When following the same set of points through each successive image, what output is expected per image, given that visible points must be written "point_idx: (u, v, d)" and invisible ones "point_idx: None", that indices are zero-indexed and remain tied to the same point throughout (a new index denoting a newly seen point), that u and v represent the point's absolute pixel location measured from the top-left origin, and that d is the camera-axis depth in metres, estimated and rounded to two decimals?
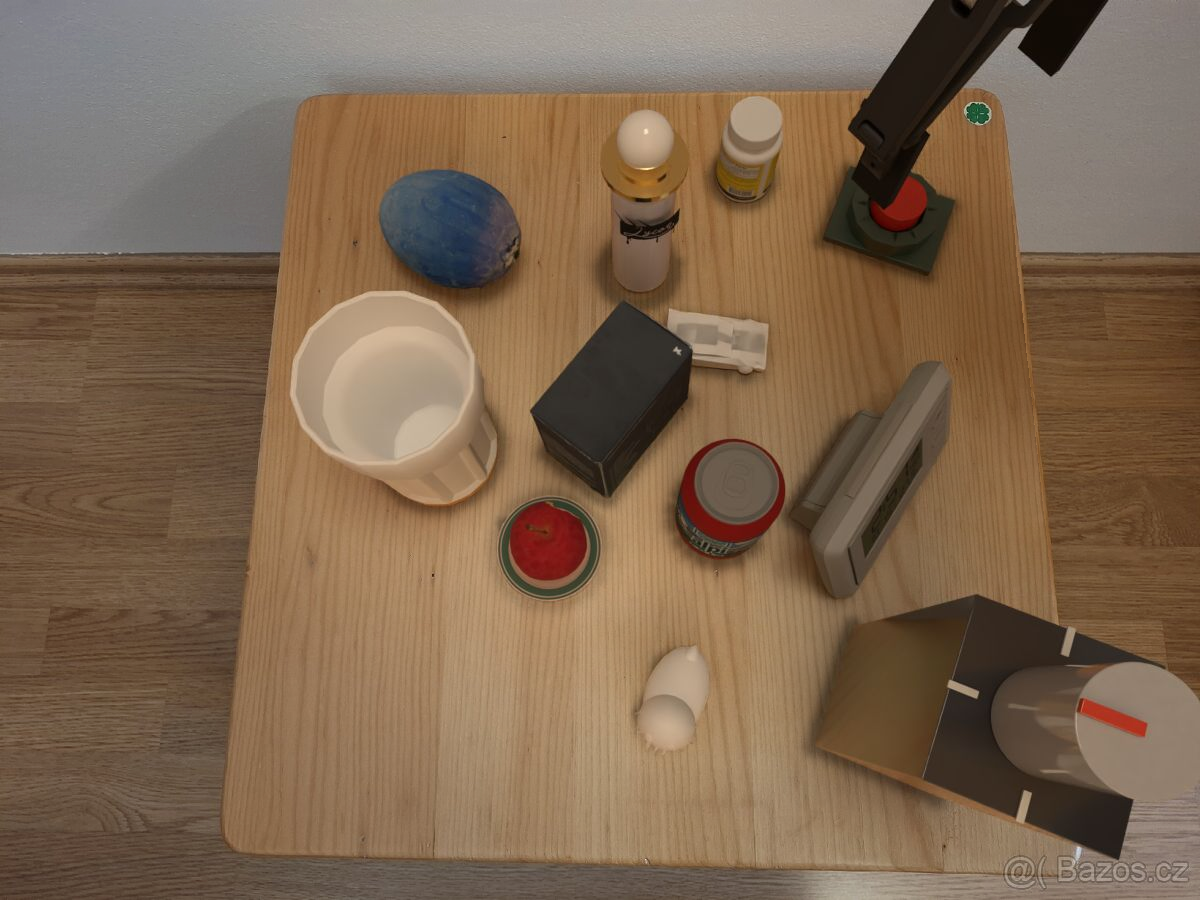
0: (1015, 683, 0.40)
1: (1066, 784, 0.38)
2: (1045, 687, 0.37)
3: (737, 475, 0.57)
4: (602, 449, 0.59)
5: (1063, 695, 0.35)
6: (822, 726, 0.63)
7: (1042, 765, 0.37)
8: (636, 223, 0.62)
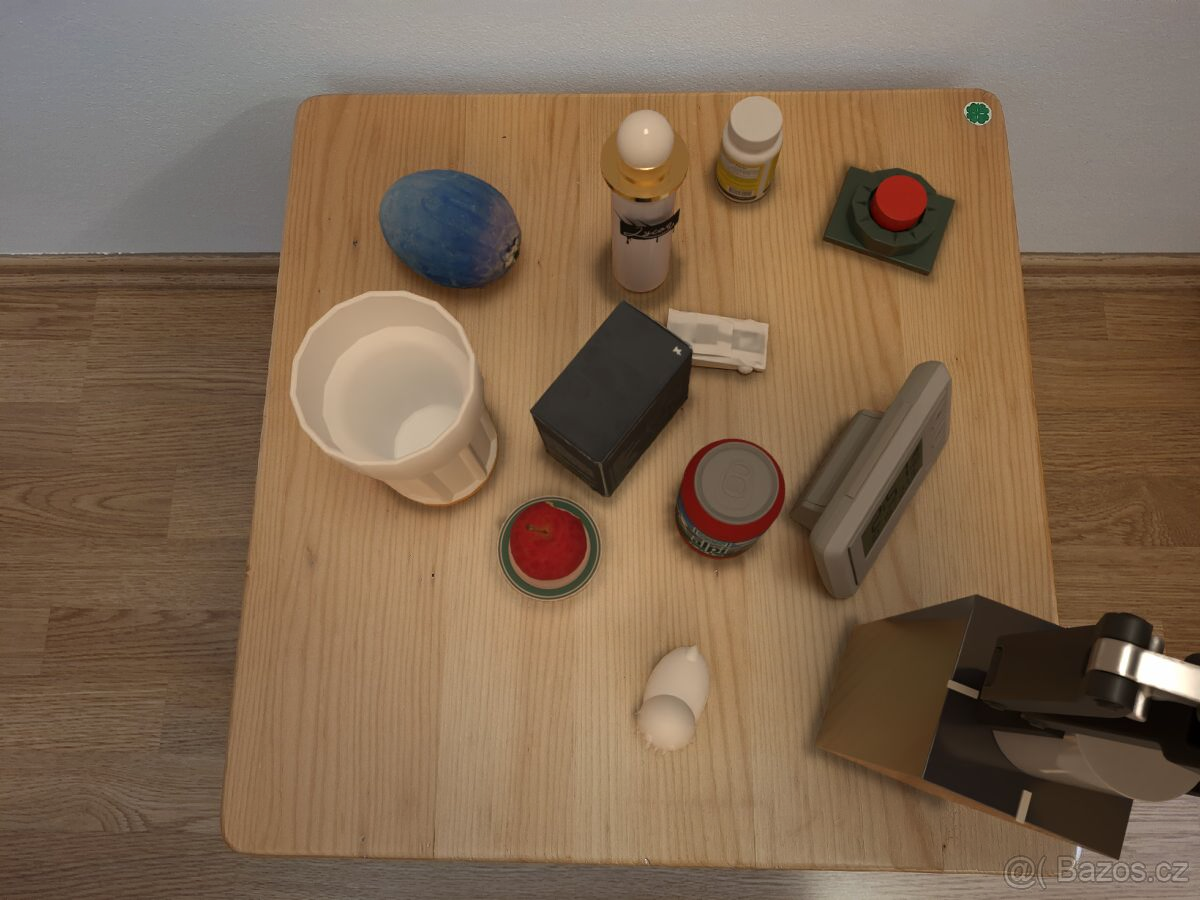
0: None
1: (1066, 784, 0.38)
2: None
3: (737, 475, 0.57)
4: (602, 449, 0.59)
5: None
6: (822, 726, 0.63)
7: (1042, 765, 0.37)
8: (636, 223, 0.62)
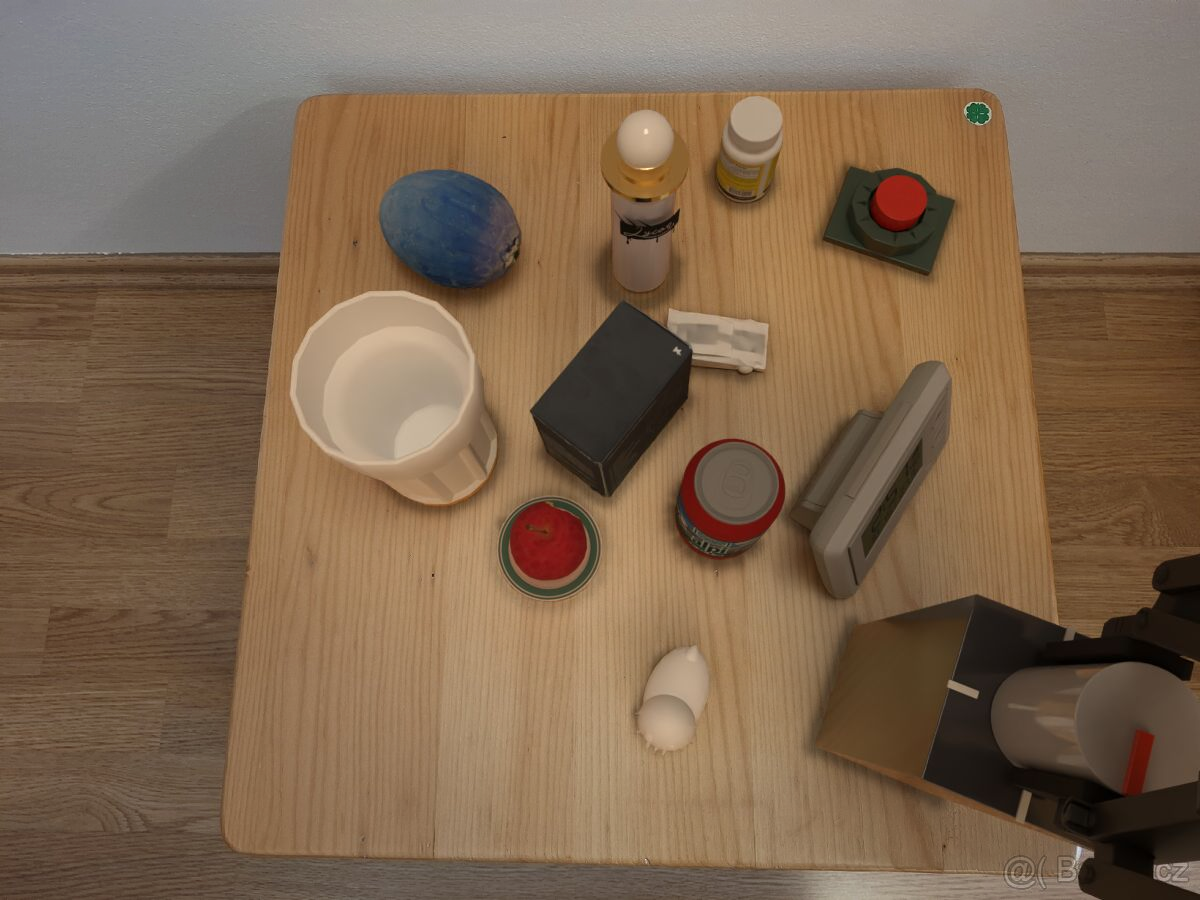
0: (1028, 767, 0.39)
1: None
2: None
3: (737, 475, 0.57)
4: (602, 449, 0.59)
5: None
6: (822, 726, 0.63)
7: None
8: (636, 223, 0.62)
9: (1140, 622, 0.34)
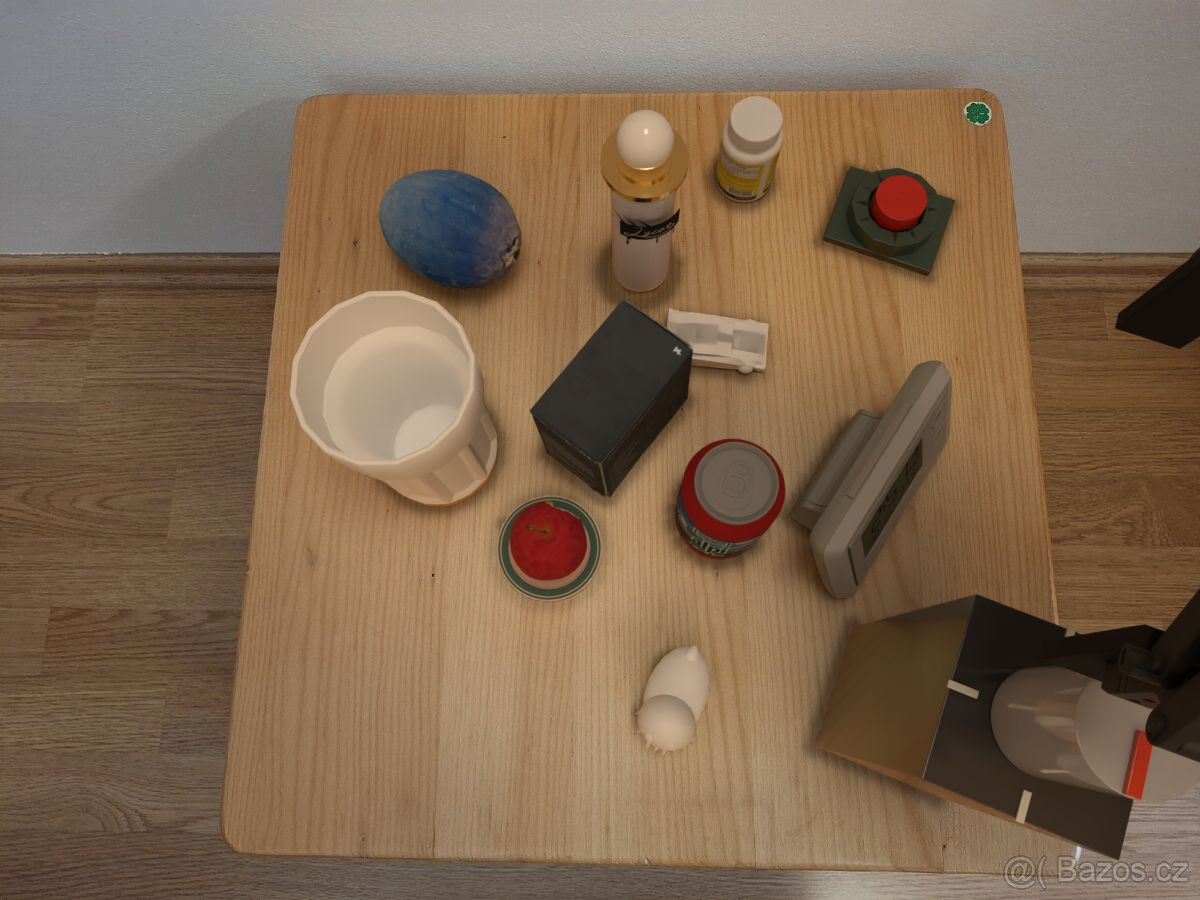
0: (1028, 768, 0.39)
1: None
2: (1068, 778, 0.36)
3: (737, 475, 0.57)
4: (602, 449, 0.59)
5: (1101, 789, 0.34)
6: (822, 726, 0.63)
7: None
8: (636, 223, 0.62)
9: None
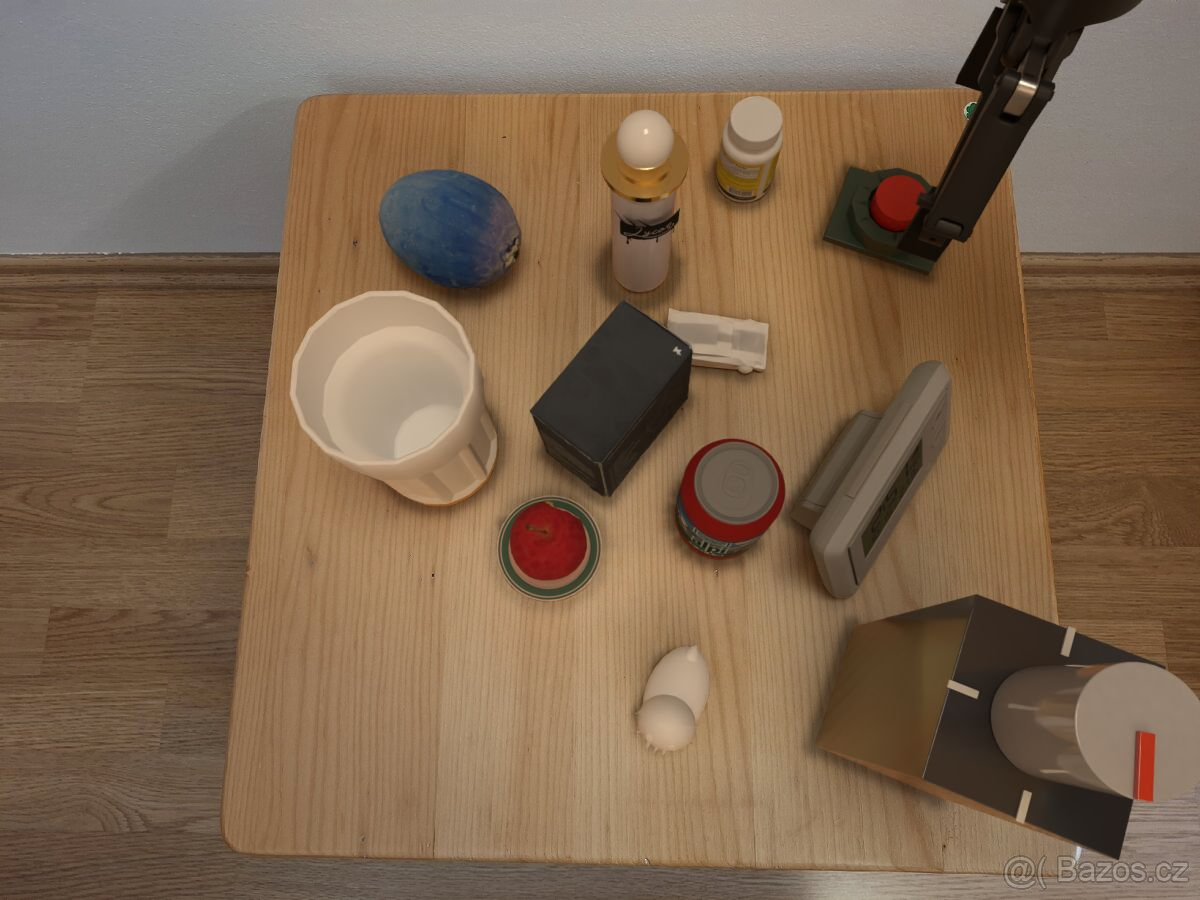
0: (1037, 774, 0.39)
1: None
2: (1077, 784, 0.36)
3: (737, 475, 0.57)
4: (602, 449, 0.59)
5: (1112, 794, 0.34)
6: (822, 726, 0.63)
7: None
8: (636, 223, 0.62)
9: None
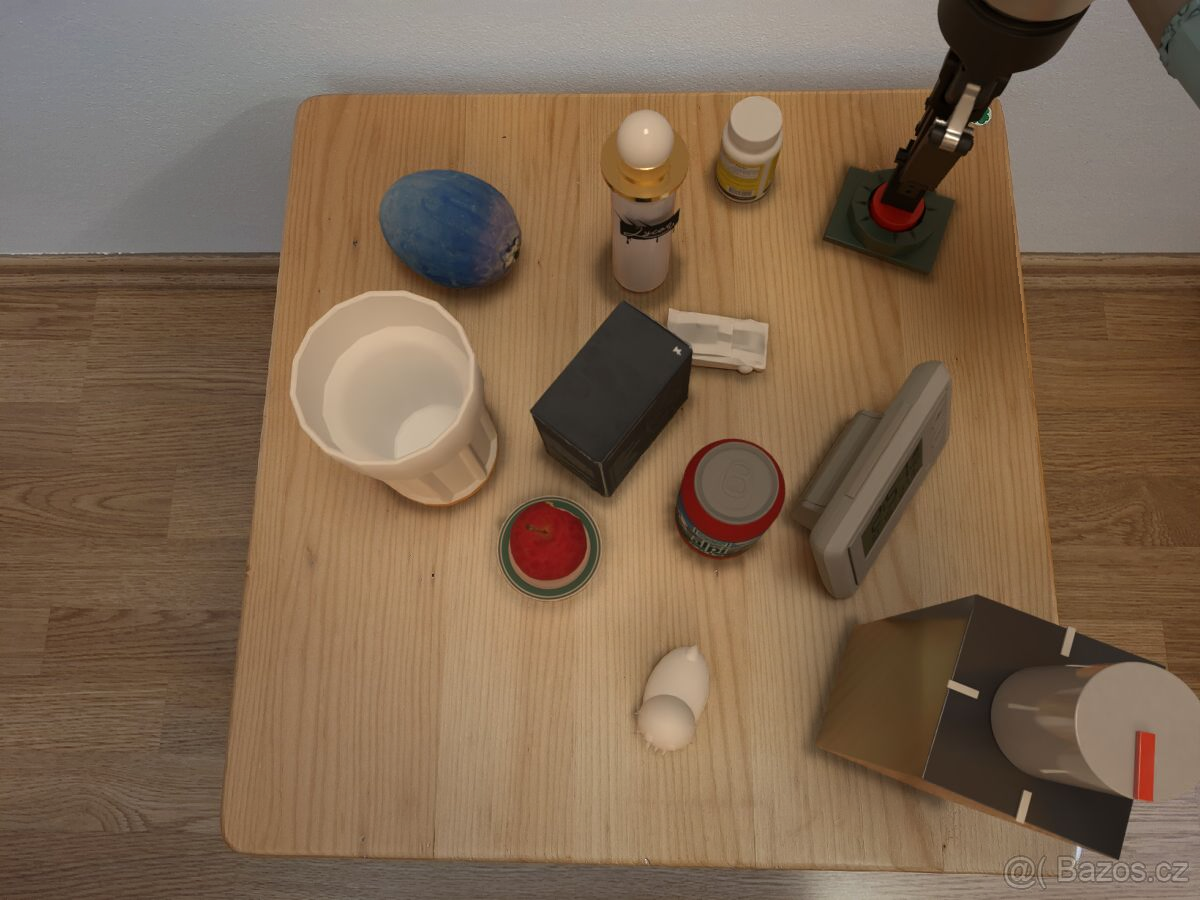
0: (1037, 774, 0.39)
1: None
2: (1077, 784, 0.36)
3: (737, 475, 0.57)
4: (602, 449, 0.59)
5: (1112, 794, 0.34)
6: (822, 726, 0.63)
7: None
8: (636, 223, 0.62)
9: (917, 125, 0.64)
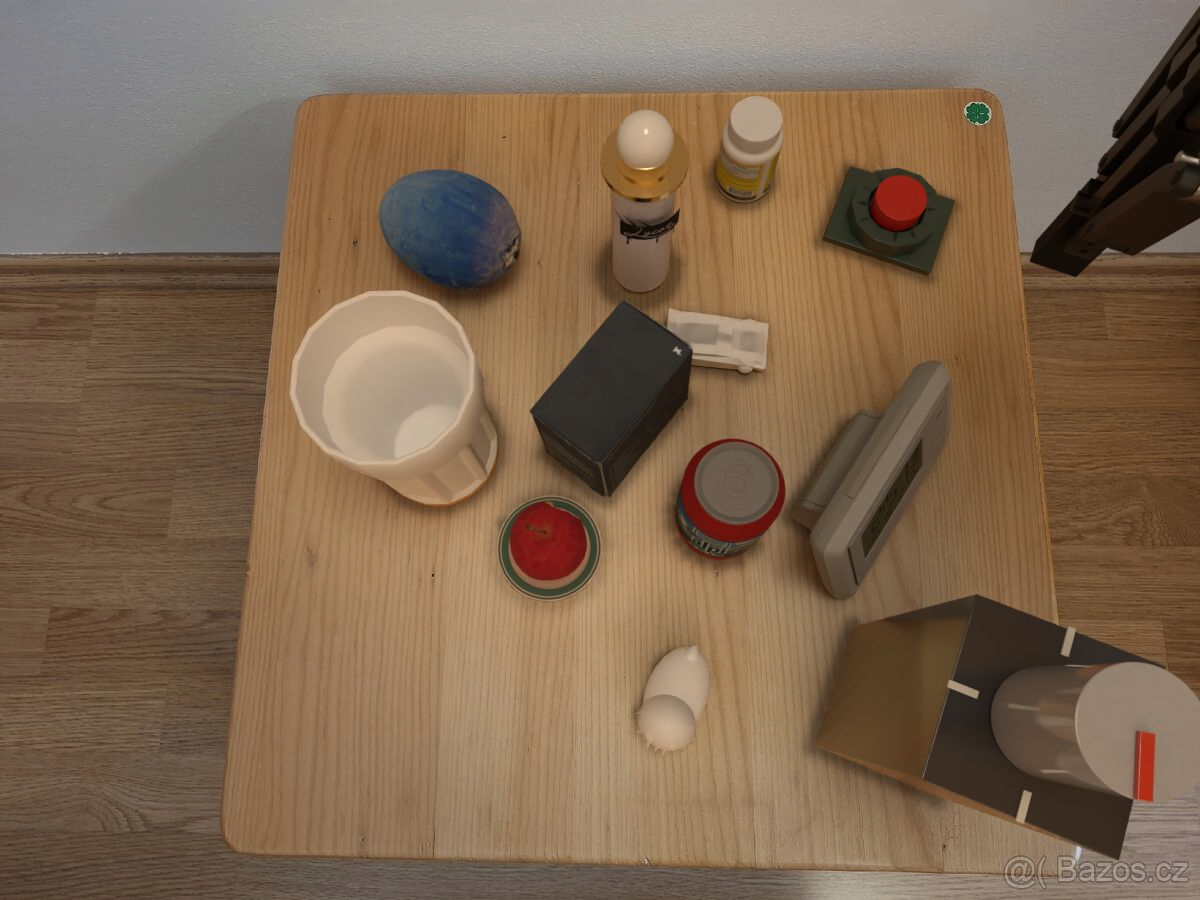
0: (1037, 774, 0.39)
1: None
2: (1077, 784, 0.36)
3: (737, 475, 0.57)
4: (602, 449, 0.59)
5: (1112, 794, 0.34)
6: (822, 726, 0.63)
7: None
8: (636, 223, 0.62)
9: (1103, 159, 0.45)
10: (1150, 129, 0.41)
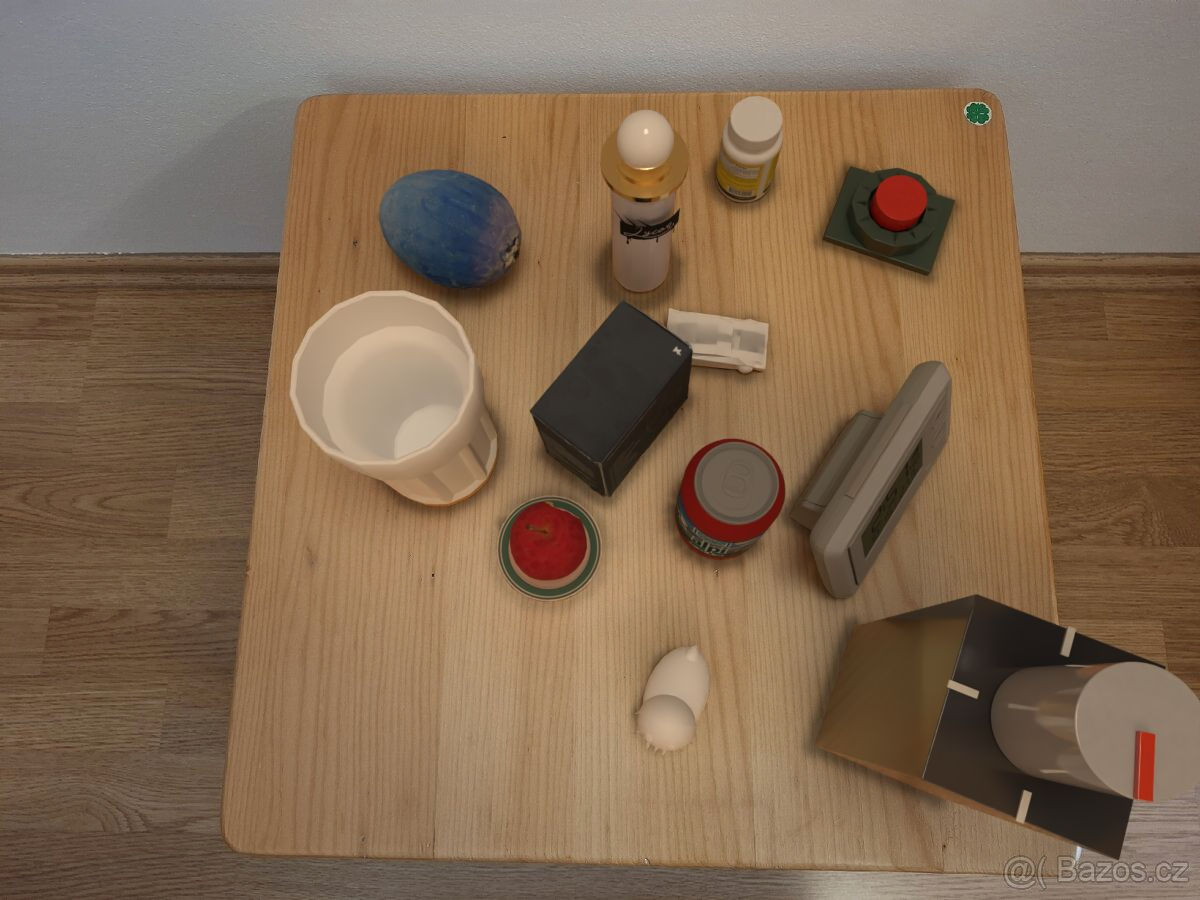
0: (1037, 774, 0.39)
1: None
2: (1077, 784, 0.36)
3: (737, 475, 0.57)
4: (602, 449, 0.59)
5: (1112, 794, 0.34)
6: (822, 726, 0.63)
7: None
8: (636, 223, 0.62)
9: None
10: None
